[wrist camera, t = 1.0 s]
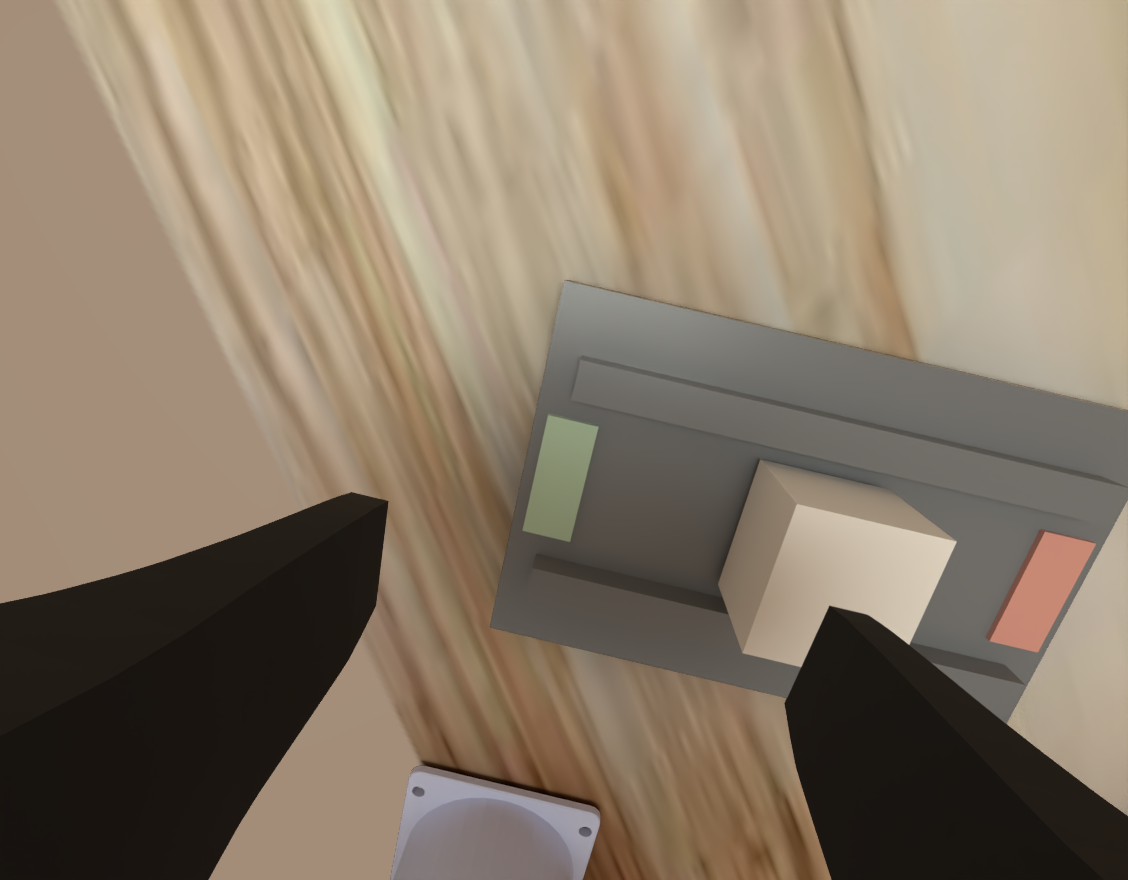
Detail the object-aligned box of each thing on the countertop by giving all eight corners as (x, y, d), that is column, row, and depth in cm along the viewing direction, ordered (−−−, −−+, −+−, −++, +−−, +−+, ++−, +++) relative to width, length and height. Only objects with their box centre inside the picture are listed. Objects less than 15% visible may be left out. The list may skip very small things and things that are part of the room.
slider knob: (838, 612, 19) (889, 688, 15) (717, 584, 19) (742, 653, 16) (888, 489, 18) (956, 541, 14) (760, 459, 18) (797, 503, 14)
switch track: (967, 716, 22) (1012, 770, 19) (497, 604, 22) (483, 644, 19) (1125, 410, 18) (1203, 430, 16) (567, 280, 18) (561, 280, 16)
